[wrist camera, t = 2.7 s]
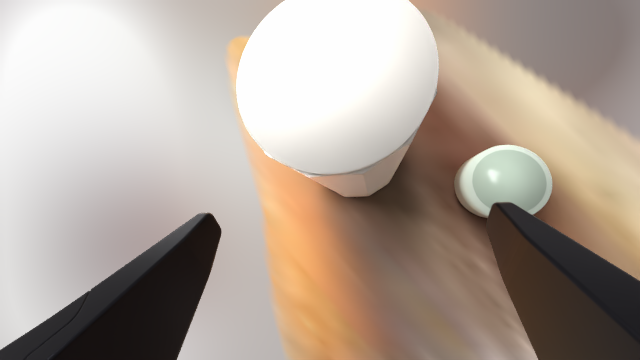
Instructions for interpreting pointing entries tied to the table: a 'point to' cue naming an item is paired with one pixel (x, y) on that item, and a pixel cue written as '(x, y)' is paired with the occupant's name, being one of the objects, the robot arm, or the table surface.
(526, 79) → the table surface
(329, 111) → the white rounded tall piece
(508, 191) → the sage bowl
